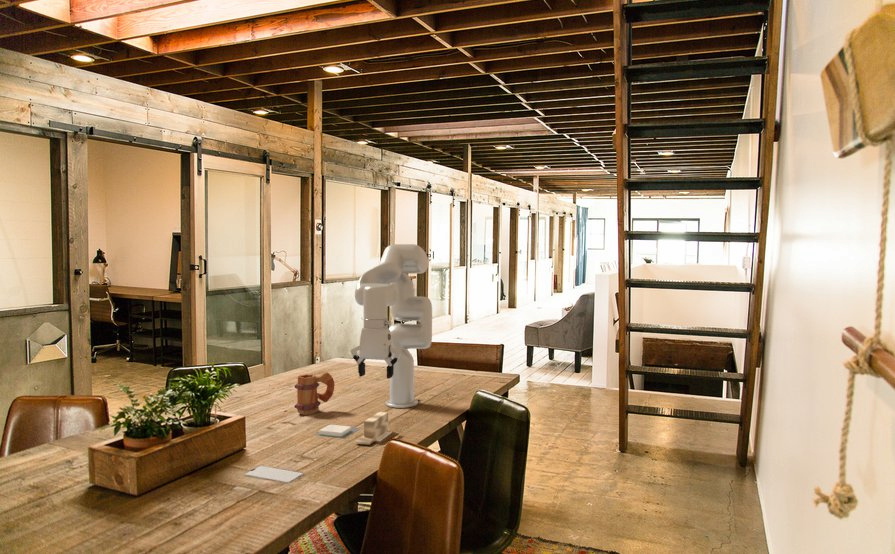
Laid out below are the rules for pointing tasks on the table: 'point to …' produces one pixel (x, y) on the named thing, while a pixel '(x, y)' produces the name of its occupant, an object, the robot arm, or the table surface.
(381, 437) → the pad
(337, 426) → the tile
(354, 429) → the mat
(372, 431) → the beige piece
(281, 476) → the smartphone
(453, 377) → the table surface
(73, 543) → the table surface
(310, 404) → the mug
